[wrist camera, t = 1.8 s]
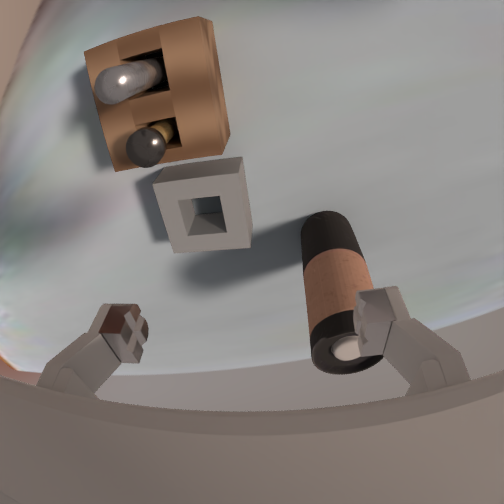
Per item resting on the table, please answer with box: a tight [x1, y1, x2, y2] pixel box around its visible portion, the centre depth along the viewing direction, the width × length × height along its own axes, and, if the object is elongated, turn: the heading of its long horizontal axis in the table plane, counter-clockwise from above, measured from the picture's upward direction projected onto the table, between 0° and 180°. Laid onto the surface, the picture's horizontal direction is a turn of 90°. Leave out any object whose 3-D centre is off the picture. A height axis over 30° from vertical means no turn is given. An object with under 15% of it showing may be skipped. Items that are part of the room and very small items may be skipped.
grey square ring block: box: [152, 157, 253, 253], centre depth 38 cm, size 10×10×5 cm
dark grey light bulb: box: [126, 117, 179, 168], centre depth 29 cm, size 4×4×8 cm
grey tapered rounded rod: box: [94, 56, 168, 104], centre depth 25 cm, size 3×3×14 cm
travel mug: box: [301, 211, 384, 374], centre depth 35 cm, size 8×8×20 cm
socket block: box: [84, 16, 230, 172], centre depth 29 cm, size 14×12×7 cm
